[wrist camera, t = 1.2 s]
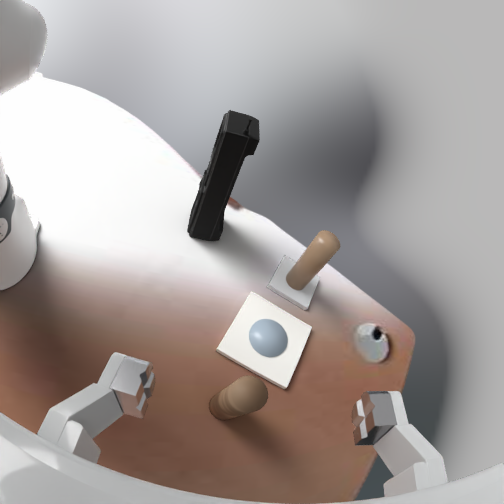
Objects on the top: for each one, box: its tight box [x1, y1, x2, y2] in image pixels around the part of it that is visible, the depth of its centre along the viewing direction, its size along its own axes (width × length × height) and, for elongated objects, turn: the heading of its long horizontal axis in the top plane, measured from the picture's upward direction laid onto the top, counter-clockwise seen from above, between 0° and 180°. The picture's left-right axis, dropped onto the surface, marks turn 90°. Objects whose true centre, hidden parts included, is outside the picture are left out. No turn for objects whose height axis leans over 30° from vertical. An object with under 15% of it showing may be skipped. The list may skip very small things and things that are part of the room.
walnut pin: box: [209, 376, 268, 420], centre depth 33 cm, size 4×4×12 cm
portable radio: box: [187, 110, 259, 241], centre depth 46 cm, size 8×6×25 cm
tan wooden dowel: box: [267, 230, 340, 310], centre depth 50 cm, size 8×8×13 cm
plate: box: [216, 291, 312, 389], centre depth 45 cm, size 12×12×1 cm
